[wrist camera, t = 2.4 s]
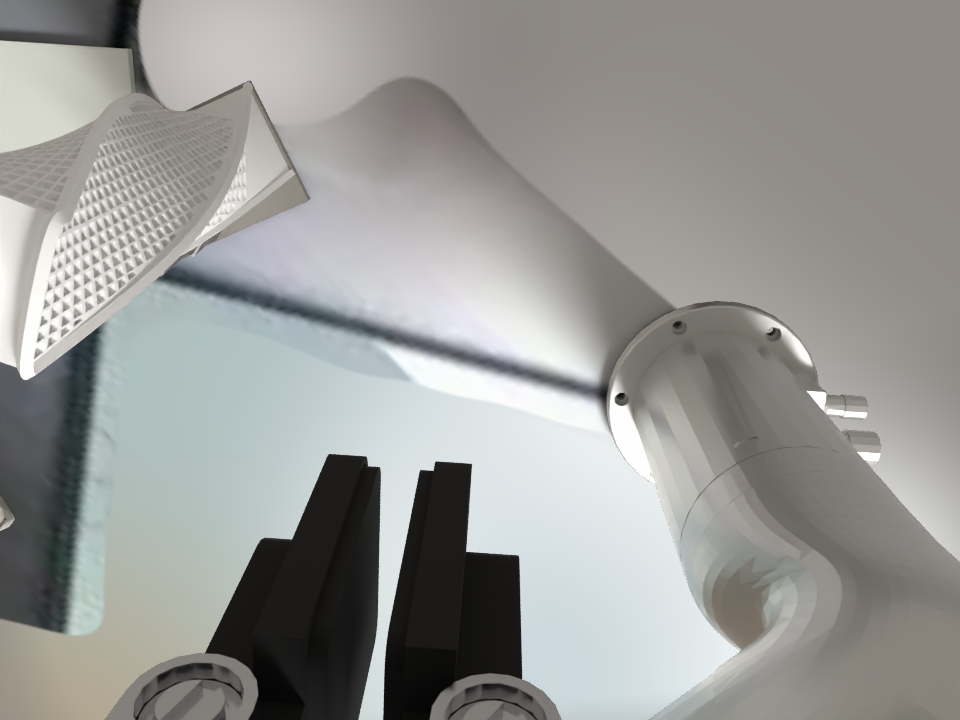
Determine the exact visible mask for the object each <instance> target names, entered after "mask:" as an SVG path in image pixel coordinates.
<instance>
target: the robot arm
mask: <svg viewBox="0 0 960 720" xmlns="http://www.w3.org/2000/svg"><path fill="white" fill-rule="evenodd" d="M676 321H680V322H681V323H680V325H679V326H677V327H674V326H673V324H674V323H675V322H676ZM770 328H773V331H772V332H771V333H767V331H768V330H769V329H770ZM619 393H624V395H623V396H621V397H618V396H616V395H617V394H619ZM606 400H607V417H608V422H609V426H610V430H611V433H612V436H613V439H614V441H615V444H616V446H617V448H618V449H619V451H620V453H621V454H622V456H623V457H624V459H625V460H626V461H627V462H628V464H629V465H631V466H632V468H633V469H634V470H635V471H636V472H637V473H638V474H640V475H642V476H643V477H644V478H645V479H647V480H648V481H650V482H652V483H653V484H655V486H656V489H657V492H658V495H659V498H660V502H661V505H662V507H663V511H664V514H665V517H666V520H667V523H668V526H669V529H670V532H671V535H672V538H673V541H674V544H675V547H676V550H677V553H678V556H679V559H680V563H681V566H682V569H683V572H684V575H685V577H686V579H687V583H688V585H689V588H690V591H691V593H692V596H693V598H694V600H695V602H696V604H697V606H698V608H699V609H700V611H701V612H702V614H703V615H704V617H705V618H706V620H707V621H708V622H709V623H710V624H711V626H712V627H713V628H714V629H715V630H716V631H717V632H718V633H719V634H720V635H721V636H722V637H723V638H725V639H726V640H727V641H728V642H729V643H731V644H732V645H733V646H734V647H736V648H737V649H738V650H740V652H739V653H738V654H737V655H735V656H734V657H732V658H731V659H730V660H728V661H727V662H725V663H724V664H722V665H721V666H720V667H718V668H717V669H716V671H715V673H713V674H712V675H711V676H709V677H708V678H706V679H705V680H703V681H702V682H701V683H699V684H698V685H697V686H695V687H694V688H692V689H691V690H689V691H688V692H687V693H685V694H684V695H682V696H681V697H680V698H678V699H677V700H676V701H674V702H672V703H671V704H670V705H668V706H667V707H665V708H664V709H663V710H661V711H660V712H658V713H657V714H655V715H654V716H653V717H651V718H650V719H648V720H960V562H959V561H958V560H957V559H956V558H955V557H954V556H953V555H952V554H951V553H949V552H948V551H947V550H946V549H945V548H944V547H943V546H942V545H940V544H939V543H938V542H937V541H936V540H935V539H934V537H933V536H932V535H931V534H930V533H929V532H928V531H927V530H926V529H925V528H924V527H923V526H922V525H921V523H920V522H919V521H918V520H917V519H916V518H915V517H914V516H913V515H912V514H911V513H910V512H909V511H908V509H907V508H906V507H905V506H904V505H903V504H902V503H901V502H900V501H899V500H898V498H897V497H896V496H895V495H894V494H893V492H892V491H891V490H890V489H889V488H888V487H887V485H886V484H885V483H884V482H883V481H882V479H881V478H880V477H879V476H878V475H877V474H876V473H875V472H874V471H873V469H872V468H871V467H870V466H869V465H868V464H875V463H876V462H877V461H878V459H879V456H880V450H881V444H880V438H879V437H878V435H877V433H875V432H870V431H856V430H843V431H840V430H839V429H838V428H837V426H836V425H835V424H834V423H833V422H832V420H831V419H830V418H829V417H828V416H832V417H839V418H844V419H858V420H862V419H864V418H865V417H866V415H867V411H868V403H867V400H866V398H865V397H863V396H852V395H840V396H836V395H827V394H826V391H825V390H822V389H821V387H820V386H819V384H818V377H817V371H816V369H815V366H814V363H813V361H812V358H811V355H810V353H809V352H808V351H807V349H806V347H805V346H804V345H803V343H802V341H801V340H800V339H799V338H798V337H797V335H795V333H794V332H793V331H792V330H791V329H790V328H789V327H788V326H786V325H785V324H784V323H782V322H781V321H780V320H778V319H777V318H776V317H775V316H773V315H771V314H769V313H766V312H764V311H762V310H761V309H758V308H756V307H752V306H748V305H745V304H741V303H734V302H721V301H715V302H705V303H697V304H693V305H689V306H686V307H683V308H679V309H676V310H674V311H672V312H670V313H668V314H666V315H664V316H662V317H660V318H658V319H656V320H655V321H654V322H652V323H651V324H650V325H648V326H647V327H645V328H644V329H643V330H641V331H640V332H639V333H638V334H637V336H636V337H635V338H634V339H633V340H632V341H631V342H630V343H629V344H628V345H627V346H626V348H625V350H624V351H623V353H622V354H621V356H620V357H619V359H618V360H617V362H616V365H615V367H614V370H613V372H612V375H611V377H610V380H609V386H608V391H607V397H606ZM471 469H472V464H465V463H451V462H435V466H434V471H425V470H420V473H419V478H418V483H417V488H416V493H415V498H414V503H413V508H412V514H411V519H410V524H409V529H408V534H407V539H406V544H405V549H404V554H403V559H402V564H401V569H400V574H399V579H398V584H397V589H396V595H395V600H394V605H393V610H392V615H391V620H390V625H389V631H388V638H387V646H386V656H385V676H384V715H383V720H561V717H560V715H559V713H558V710H557V708H556V706H555V704H554V703H553V702H552V701H551V700H550V698H549V697H548V696H547V695H546V694H545V693H544V692H543V691H542V690H540V689H538V688H537V687H535V686H534V685H532V684H531V683H529V682H527V681H524V680H522V654H521V614H520V613H521V611H520V571H519V570H520V569H519V556H517V555H503V554H488V553H474V552H466V544H467V530H468V515H469V501H470V485H471ZM380 485H381V472H380V467H369V466H368V462H367V457H364V456H349V455H336V454H329V455H328V457H327V458H326V461H325V463H324V466H323V468H322V471H321V473H320V475H319V478H318V480H317V482H316V484H315V487H314V489H313V492H312V494H311V496H310V499H309V501H308V503H307V506H306V508H305V511H304V513H303V515H302V518H301V520H300V522H299V525H298V527H297V530H296V532H295V534H294V537H293V539H292V540H289V539H275V538H264V539H261V541H260V542H259V544H258V545H257V547H256V549H255V552H254V553H253V556H252V558H251V560H250V562H249V564H248V566H247V568H246V570H245V572H244V574H243V576H242V578H241V580H240V582H239V584H238V586H237V588H236V591H235V593H234V595H233V597H232V599H231V601H230V603H229V605H228V607H227V609H226V611H225V613H224V615H223V617H222V619H221V622H220V624H219V626H218V628H217V630H216V632H215V634H214V636H213V638H212V640H211V642H210V644H209V646H208V648H207V650H206V652H205V654H202V653H198V654H192V655H186V656H180V657H177V658H174V659H171V660H168V661H166V662H163V663H160V664H158V665H156V666H155V667H153V668H151V669H150V670H148V671H147V672H145V673H144V674H142V675H140V676H139V677H138V678H137V679H136V681H135V682H134V683H133V684H132V685H131V686H130V687H129V688H128V689H127V690H126V691H125V693H124V694H123V695H122V697H121V698H120V699H119V701H118V702H117V704H116V705H115V706H114V707H113V709H112V710H111V712H110V713H109V714H108V716H107V717H106V718H105V720H358V718H359V714H360V709H361V704H362V699H363V695H364V690H365V686H366V681H367V677H368V672H369V667H370V663H371V658H372V653H373V649H374V644H375V638H376V631H377V619H378V618H377V617H378V577H379V576H378V575H379V532H380Z"/></svg>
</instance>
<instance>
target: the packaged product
mask: <svg viewBox="0 0 960 720" xmlns="http://www.w3.org/2000/svg"><path fill="white" fill-rule="evenodd" d="M14 519H15V518H14V516H13V514H12V513H11V511H10V509H9V508H8V506H7V505H6V503H5V502H4V500H3V499H2V497H1V495H0V531H1V530H3V529H5V528H7V527H9V526H10V525H11V524H12V522H13V521H14Z"/></svg>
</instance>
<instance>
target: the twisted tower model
mask: <svg viewBox="0 0 960 720" xmlns="http://www.w3.org/2000/svg"><path fill="white" fill-rule="evenodd" d="M309 199H310V198H309V196H308V194H307V192H306V190H305V188H304V186H303V184H302V182H301V180H300V178H299V176H298V174H297V172H296V170H295V168H294V166H293V164H292V162H291V160H290V158H289V156H288V154H287V152H286V150H285V148H284V146H283V144H282V142H281V140H280V138H279V136H278V134H277V132H276V130H275V128H274V126H273V124H272V122H271V120H270V118H269V116H268V114H267V112H266V110H265V108H264V106H263V104H262V102H261V100H260V98H259V96H258V94H257V92H256V90H255V88H254V86H253V84H252V82H251V81H247V82H245V83H243V84H241V85H239V86H237V87H235V88H233V89H231V90H229V91H226V92H224V93H223V94H220V95H218V96H216V97H214V98H212V99H210V100H208V101H206V102H203V103H201V104H199V105H197V106H195V107H193V108H191V109H189V110H187V111H185V112H182V111H172V110H168V109H165V108H164V107H163V106H161V105H160V104H159V103H158V102H157V101H155V100H154V99H153V98H151V97H149V96H147V95H145V94H141V93H130V94H128V95H125V96H123V97H120V98H118V99H116V100H114V101H113V102H112V103H111V104H109V105H108V106H107V107H106V109H105V110H104V111H103V112H102V113H101V114H100V116H99V117H98V119H96V120H94V121H92V122H90V123H89V124H87V125H85V126H83V127H81V128H79V129H76V130H74V131H72V132H70V133H68V134H65V135H63V136H60V137H58V138H55V139H53V140H50V141H47V142H44V143H41V144H38V145H34V146H31V147H27V148H23V149H19V150H14V151H9V152H3V153H0V362H3V363H5V364H8V365H11V366H14V367H17V369H18V371H19V373H20V375H21V377H22V378H23V379H25V380H28V379H29V378H31V377H33V376H35V375H37V374H38V373H39V372H41V371H42V370H43V369H45V368H46V367H47V366H49V365H50V364H51V363H52V362H54V361H55V360H56V359H58V358H59V357H60V356H62V355H63V354H64V353H66V352H67V351H68V350H69V349H71V348H72V347H73V346H75V345H76V344H77V343H79V342H80V341H81V340H82V339H84V338H85V337H86V336H87V335H89V334H90V333H91V332H92V331H94V330H95V329H96V328H98V327H99V326H100V325H101V324H103V323H104V322H105V321H106V320H108V319H109V318H110V317H112V316H113V315H114V314H115V313H117V312H118V311H119V310H120V309H122V308H123V307H124V306H125V305H126V304H128V303H129V302H130V301H131V300H132V299H133V298H135V297H136V296H137V295H138V294H139V293H141V292H142V291H143V290H144V289H145V288H147V287H148V286H149V285H150V284H151V283H152V282H153V281H155V280H156V279H157V278H158V277H159V276H162V275H164V274H165V273H166V272H167V271H168V270H169V269H170V268H172V267H173V266H174V265H175V264H176V263H177V262H179V261H180V260H181V259H183V258H185V257H187V256H193V257H194V256H195V255H196V254H197V253H198V252H199V251H201V250H202V249H203V248H204V247H205V246H207V245H209V244H211V243H213V242H216V241H218V240H220V239H223V238H225V237H227V236H229V235H232V234H234V233H236V232H238V231H241V230H243V229H245V228H247V227H250V226H252V225H254V224H256V223H259V222H261V221H263V220H265V219H268V218H270V217H272V216H274V215H277V214H279V213H281V212H283V211H286V210H288V209H290V208H292V207H295V206H297V205H299V204H301V203H304V202H306V201H308V200H309Z"/></svg>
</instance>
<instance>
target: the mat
mask: <svg viewBox="0 0 960 720" xmlns="http://www.w3.org/2000/svg"><path fill="white" fill-rule="evenodd" d="M130 93H136V89H135V77H134V65H133V54H132V49H123V48H108V47H94V46H79V45H64V44H49V43H34V42H20V41H5V40H0V153H3V152H9V151H14V150H19V149H23V148H27V147H31V146H34V145H38V144H41V143H44V142H47V141H50V140H53V139H55V138H58V137H60V136H63V135H65V134H68V133H70V132H72V131H74V130H76V129H79V128H81V127H83V126H85V125H87V124H89V123H90V122H92V121H94V120H96V119H98V117H99V116H100V114H101V113H102V112H103V111H104V110H105V109H106V107H107V106H108V105H109V104H111V103H112V102H113V101H114V100H116V99H118V98H120V97H123V96H125V95H128V94H130Z"/></svg>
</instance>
